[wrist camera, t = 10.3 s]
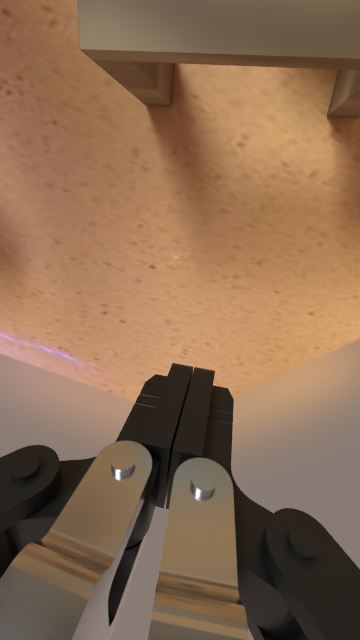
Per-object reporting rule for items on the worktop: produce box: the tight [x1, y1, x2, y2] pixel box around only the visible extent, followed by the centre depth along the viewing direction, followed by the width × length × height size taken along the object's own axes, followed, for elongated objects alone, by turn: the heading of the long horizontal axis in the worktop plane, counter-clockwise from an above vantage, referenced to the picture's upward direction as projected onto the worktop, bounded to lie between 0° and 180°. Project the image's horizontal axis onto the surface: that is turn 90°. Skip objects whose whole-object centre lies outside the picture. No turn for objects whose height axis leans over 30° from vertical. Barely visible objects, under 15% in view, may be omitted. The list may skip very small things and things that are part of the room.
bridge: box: [77, 0, 360, 118], centre depth 15 cm, size 3×15×10 cm, turn 84°
